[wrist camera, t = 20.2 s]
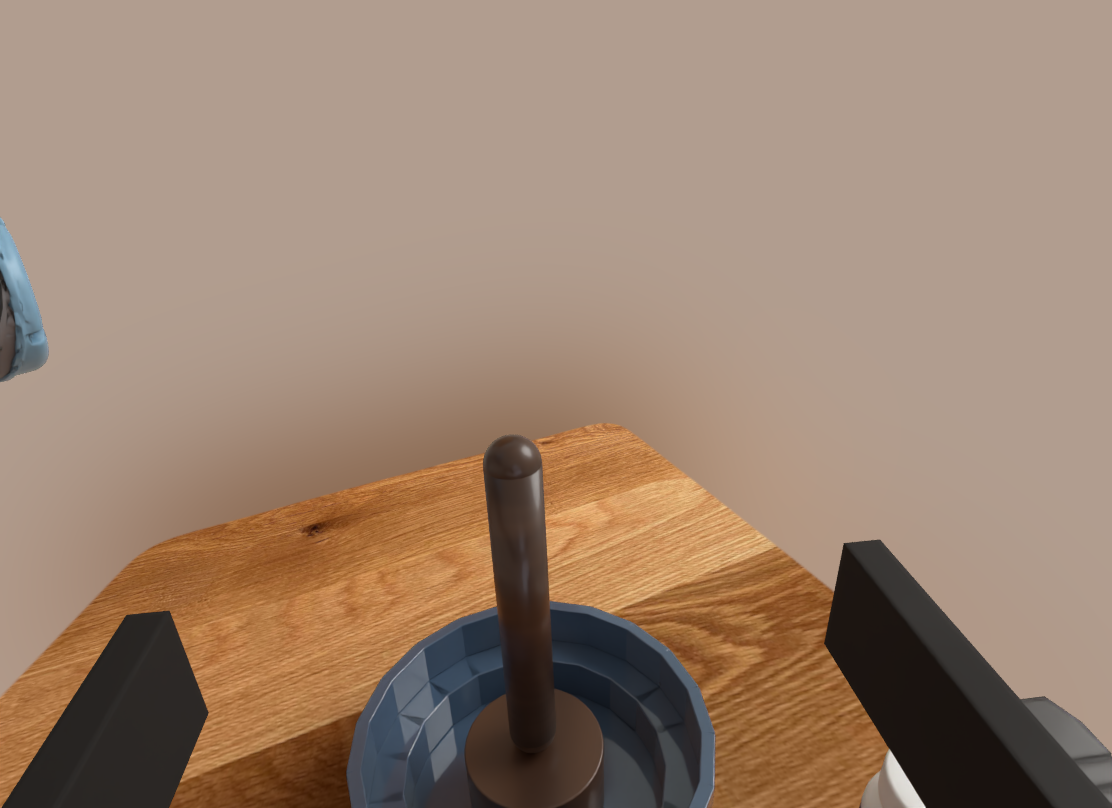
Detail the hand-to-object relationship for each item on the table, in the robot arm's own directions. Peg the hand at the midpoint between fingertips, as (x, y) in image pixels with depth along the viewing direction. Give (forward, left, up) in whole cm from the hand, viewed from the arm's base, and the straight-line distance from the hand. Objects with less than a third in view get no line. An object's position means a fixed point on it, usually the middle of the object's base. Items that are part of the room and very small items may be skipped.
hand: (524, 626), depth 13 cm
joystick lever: (-3, +9, -19) cm, 22 cm away
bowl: (-3, +9, -20) cm, 22 cm away
